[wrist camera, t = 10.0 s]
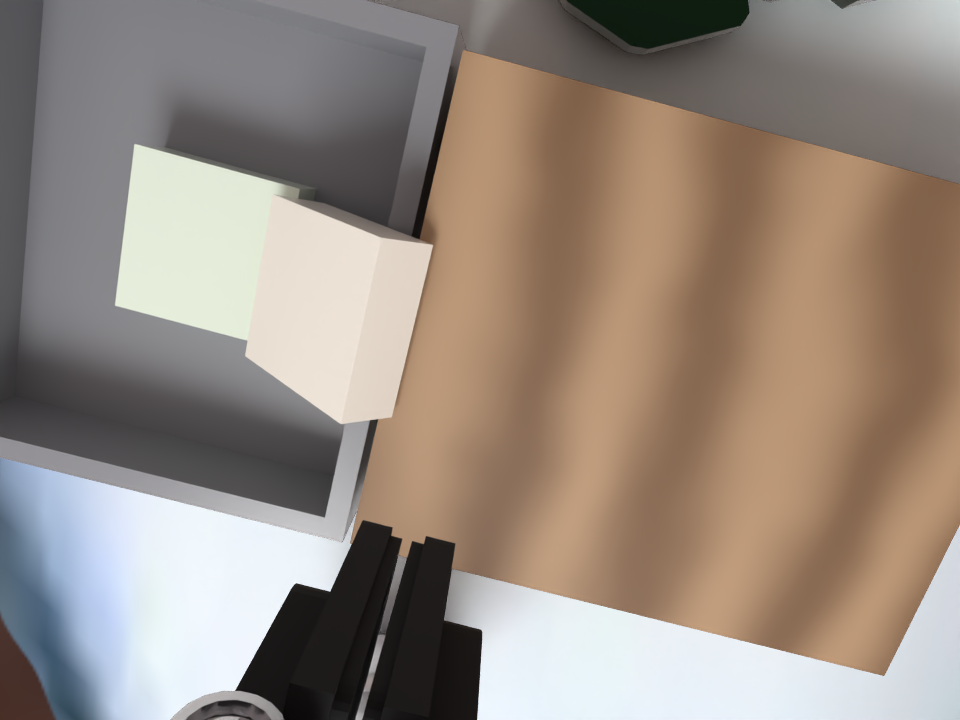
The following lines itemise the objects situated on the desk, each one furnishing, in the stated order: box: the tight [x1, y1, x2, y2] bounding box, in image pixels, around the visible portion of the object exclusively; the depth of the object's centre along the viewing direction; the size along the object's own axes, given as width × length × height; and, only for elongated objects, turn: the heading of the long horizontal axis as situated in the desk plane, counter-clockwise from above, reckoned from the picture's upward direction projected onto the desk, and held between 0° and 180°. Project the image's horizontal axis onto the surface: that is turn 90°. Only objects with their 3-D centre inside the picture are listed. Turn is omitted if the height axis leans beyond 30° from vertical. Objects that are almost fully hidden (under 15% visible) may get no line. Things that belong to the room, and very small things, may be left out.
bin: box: [0, 0, 466, 542], centre depth 29 cm, size 19×22×4 cm
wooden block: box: [350, 50, 960, 676], centre depth 29 cm, size 24×20×6 cm
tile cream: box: [245, 194, 433, 424], centre depth 27 cm, size 7×7×2 cm
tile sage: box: [115, 144, 316, 341], centre depth 30 cm, size 7×7×2 cm
